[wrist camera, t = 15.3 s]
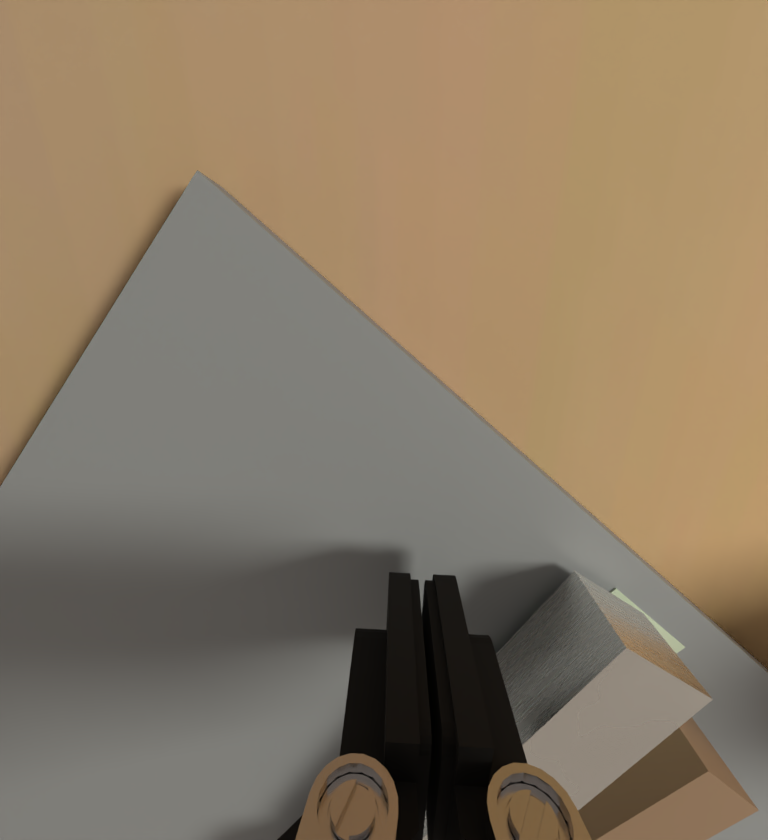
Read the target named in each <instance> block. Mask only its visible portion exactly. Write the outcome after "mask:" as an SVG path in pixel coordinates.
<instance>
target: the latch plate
mask: <svg viewBox="0 0 768 840" xmlns="http://www.w3.org/2000/svg"><path fill="white" fill-rule="evenodd" d="M574 571H576V572H577V573H579V574H581V575H582V576H584V577H585V578H587V579H589V580H590V581H592V582H594V583H595V584H597V585H598V586H600V587H602V588H603V589H605V590H607V591H608V592H610V593H611V594H613V595H615V596H616V597H618V598H620V599H621V600H623V601H624V602H626V603H628V604H629V605H631V606H633V607H634V608H636V609H637V610H639V611H641V612H642V613H644V614H645V616H646V617H647V618H648V619H649V621H650V622H651V623H652V624H653V626H654V627H655V628H656V629H657V631H658V632H659V633H660V634H661V636H662V637H663V638H664V639H665V641H666V642H667V643H668V644H669V645H670V647H671V648H672V649H673V650H674V652H675V653H676V654H677V655H678V657H679V658H680V659H681V660H682V662H683V663H684V664H685V665H686V667H687V668H688V669H689V670H690V671H691V673H692V674H693V675H694V676H695V678H696V679H697V680H698V681H699V683H700V684H701V685H702V686H703V688H704V689H705V690H706V691H707V693H708V694H709V695H710V696H711V698H712V699H713V700H712V701H711V702H709V703H708V704H707V705H706V706H704V707H703V708H702V709H701V710H700V711H698V712H697V713H696V714H695V715H694V716H692V717H691V718H690V719H689V720H688V721H686V722H685V723H684V724H683V725H681V726H680V727H679V728H678V729H677V730H675V731H674V732H673V733H672V734H671V735H669V736H668V737H667V738H666V739H664V740H663V741H662V742H661V743H660V744H658V745H657V746H656V747H655V748H654V749H652V750H651V751H650V752H649V753H647V754H646V755H645V756H644V757H643V758H641V759H640V760H639V761H638V762H637V763H635V764H634V765H633V766H632V767H631V768H629V769H628V770H627V771H626V772H624V773H623V774H622V775H621V776H620V777H618V778H617V779H616V780H615V781H614V782H612V783H611V784H610V785H609V786H607V787H606V788H605V789H604V790H603V791H601V792H600V793H599V794H598V795H597V796H595V797H594V798H593V799H592V800H591V801H589V802H588V803H587V804H586V805H584V806H583V807H582V808H581V809H580V810H578V812H579V814H580V816H581V818H582V820H583V822H584V824H585V826H586V829H587V831H588V833H589V835H590V837H591V839H592V840H768V669H767V668H765V667H764V666H763V665H762V664H761V663H760V662H759V661H758V660H756V659H755V658H754V657H753V656H752V655H751V654H750V653H748V652H747V651H746V650H745V649H744V648H743V647H742V646H741V645H739V644H738V643H737V642H736V641H735V640H734V639H733V638H731V637H730V636H729V635H728V634H727V633H726V632H725V631H724V630H722V629H721V628H720V627H719V626H718V625H717V624H716V623H715V622H713V621H712V620H711V619H710V618H709V617H708V616H707V615H705V614H704V613H703V612H702V611H701V610H700V609H699V608H698V607H696V606H695V605H694V604H693V603H692V602H691V601H690V600H688V599H687V598H686V597H685V596H684V595H683V594H682V593H681V592H679V591H678V590H677V589H676V588H675V587H674V586H673V585H672V584H670V583H669V582H668V581H667V580H666V579H665V578H664V577H662V576H661V575H660V574H659V573H658V572H657V571H656V570H655V569H653V568H652V567H651V566H650V565H649V564H648V563H647V562H645V561H644V560H643V559H642V558H641V557H640V556H639V555H638V554H636V553H635V552H634V551H633V550H632V549H631V548H630V547H629V546H627V545H626V544H625V543H624V542H623V541H622V540H621V539H619V538H618V537H617V536H616V535H615V534H614V533H613V532H612V531H610V530H609V529H608V528H607V527H606V526H605V525H604V524H602V523H601V522H600V521H599V520H598V519H597V518H596V517H595V516H593V515H592V514H591V513H590V512H589V511H588V510H587V509H586V508H584V507H583V506H582V505H581V504H580V503H579V502H578V501H576V500H575V499H574V498H573V497H572V496H571V495H570V494H569V493H567V492H566V491H565V490H564V489H563V488H562V487H561V486H559V485H558V484H557V483H556V482H555V481H554V480H553V479H552V478H550V477H549V476H548V475H547V474H546V473H545V472H544V471H543V470H541V469H540V468H539V467H538V466H537V465H536V464H535V463H533V462H532V461H531V460H530V459H529V458H528V457H527V456H526V455H524V454H523V453H522V452H521V451H520V450H519V449H518V448H516V447H515V446H514V445H513V444H512V443H511V442H510V441H509V440H507V439H506V438H505V437H504V436H503V435H502V434H501V433H499V432H498V431H497V430H496V429H495V428H494V427H493V426H492V425H490V424H489V423H488V422H487V421H486V420H485V419H484V418H483V417H481V416H480V415H479V414H478V413H477V412H476V411H475V410H473V409H472V408H471V407H470V406H469V405H468V404H467V403H466V402H464V401H463V400H462V399H461V398H460V397H459V396H458V395H456V394H455V393H454V392H453V391H452V390H451V389H450V388H449V387H447V386H446V385H445V384H444V383H443V382H442V381H441V380H440V379H438V378H437V377H436V376H435V375H434V374H433V373H432V372H430V371H429V370H428V369H427V368H426V367H425V366H424V365H423V364H421V363H420V362H419V361H418V360H417V359H416V358H415V357H413V356H412V355H411V354H410V353H409V352H408V351H407V350H406V349H404V348H403V347H402V346H401V345H400V344H399V343H398V342H397V341H395V340H394V339H393V338H392V337H391V336H390V335H389V334H387V333H386V332H385V331H384V330H383V329H382V328H381V327H380V326H378V325H377V324H376V323H375V322H374V321H373V320H372V319H370V318H369V317H368V316H367V315H366V314H365V313H364V312H363V311H361V310H360V309H359V308H358V307H357V306H356V305H355V304H354V303H352V302H351V301H350V300H349V299H348V298H347V297H346V296H344V295H343V294H342V293H341V292H340V291H339V290H338V289H337V288H335V287H334V286H333V285H332V284H331V283H330V282H329V281H327V280H326V279H325V278H324V277H323V276H322V275H321V274H320V273H318V272H317V271H316V270H315V269H314V268H313V267H312V266H311V265H309V264H308V263H307V262H306V261H305V260H304V259H303V258H301V257H300V256H299V255H298V254H297V253H296V252H295V251H294V250H292V249H291V248H290V247H289V246H288V245H287V244H286V243H284V242H283V241H282V240H281V239H280V238H279V237H278V236H277V235H275V234H274V233H273V232H272V231H271V230H270V229H269V228H268V227H266V226H265V225H264V224H263V223H262V222H261V221H260V220H258V219H257V218H256V217H255V216H254V215H253V214H252V213H251V212H249V211H248V210H247V209H246V208H245V207H244V206H243V205H241V204H240V203H239V202H238V201H237V200H236V199H235V198H234V197H232V196H231V195H230V194H229V193H228V192H227V191H226V190H225V189H223V188H222V187H221V186H219V185H218V184H217V183H215V182H214V181H212V180H211V179H209V178H208V177H206V176H205V175H203V174H202V173H201V172H199V171H198V170H197V171H196V173H195V175H194V176H193V178H192V179H191V181H190V183H189V184H188V186H187V187H186V189H185V191H184V192H183V194H182V196H181V197H180V199H179V200H178V202H177V204H176V205H175V207H174V208H173V210H172V212H171V213H170V215H169V216H168V218H167V220H166V221H165V223H164V224H163V226H162V228H161V229H160V231H159V232H158V234H157V236H156V237H155V239H154V241H153V242H152V244H151V245H150V247H149V249H148V250H147V252H146V253H145V255H144V257H143V258H142V260H141V261H140V263H139V265H138V266H137V268H136V269H135V271H134V273H133V274H132V276H131V277H130V279H129V281H128V282H127V284H126V286H125V287H124V289H123V290H122V292H121V294H120V295H119V297H118V298H117V300H116V302H115V303H114V305H113V306H112V308H111V310H110V311H109V313H108V314H107V316H106V318H105V319H104V321H103V322H102V324H101V326H100V327H99V329H98V331H97V332H96V334H95V335H94V337H93V339H92V340H91V342H90V343H89V345H88V347H87V348H86V350H85V351H84V353H83V355H82V356H81V358H80V359H79V361H78V363H77V364H76V366H75V367H74V369H73V371H72V372H71V374H70V376H69V377H68V379H67V380H66V382H65V384H64V385H63V387H62V388H61V390H60V392H59V393H58V395H57V396H56V398H55V400H54V401H53V403H52V404H51V406H50V408H49V409H48V411H47V413H46V414H45V416H44V417H43V419H42V421H41V422H40V424H39V425H38V427H37V429H36V430H35V432H34V433H33V435H32V437H31V438H30V440H29V441H28V443H27V445H26V446H25V448H24V449H23V451H22V453H21V454H20V456H19V458H18V459H17V461H16V462H15V464H14V466H13V467H12V469H11V470H10V472H9V474H8V475H7V477H6V478H5V480H4V482H3V483H2V485H1V486H0V840H277V839H278V838H279V837H280V836H281V835H282V834H283V833H285V832H286V831H287V830H288V829H289V828H290V827H291V826H292V825H293V824H294V823H295V822H296V821H297V820H298V819H299V818H300V817H301V816H302V815H303V812H304V809H305V806H306V802H307V799H308V796H309V792H310V790H311V788H312V786H313V783H314V781H315V779H316V777H317V776H318V774H319V773H320V772H321V771H322V770H323V768H324V767H325V766H326V765H327V764H328V763H330V762H331V761H333V760H334V759H336V758H337V757H339V756H340V748H341V740H342V732H343V723H344V715H345V707H346V699H347V691H348V683H349V675H350V667H351V659H352V651H353V643H354V635H355V629H356V628H362V629H381V630H386V624H387V604H388V583H389V572H397V573H410V575H411V579H415V580H419V589H420V601H421V612H422V607H423V594H424V583H425V580H432V578H433V575H434V574H437V575H455V576H456V579H457V584H458V588H459V593H460V597H461V602H462V606H463V611H464V615H465V620H466V624H467V629H468V633H469V634H475V635H489V636H490V638H491V640H492V643H493V646H494V649H495V653H497V652H498V651H499V650H500V649H501V648H502V647H503V646H504V645H505V644H506V643H507V642H508V641H509V640H510V638H511V637H512V636H513V635H514V634H515V633H516V632H517V631H518V630H519V629H520V628H521V627H522V626H523V625H524V624H525V623H526V621H527V620H528V619H529V618H530V617H531V616H532V615H533V614H534V613H535V612H536V611H537V610H538V609H539V608H540V607H541V606H542V605H543V603H544V602H545V601H546V600H547V599H548V598H549V597H550V596H551V595H552V594H553V593H554V592H555V591H556V590H557V589H558V588H559V587H560V585H561V584H562V583H563V582H564V581H565V580H566V579H567V578H568V577H569V576H570V575H571V574H572V573H573V572H574Z"/></svg>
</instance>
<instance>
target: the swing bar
mask: <svg viewBox="0 0 768 840" xmlns="http://www.w3.org/2000/svg"><path fill="white" fill-rule="evenodd" d="M496 656H497V660H498V663H499V667H500V670H501V673H502V677H503V680H504V684H505V687H506V691H507V694H508V698H509V701H510V705H511V708H512V712H513V715H514V718H515V722H516V725H517V729H518V732H519V736H520V739H521V743H522V746H523V750H524V753H525V757H526V760H527V763H528V764H530V765H532V766H535V767H537V768H540V769H542V770H543V771H544V772H546V773H547V774H549V775H550V776H552V777H553V778H554V779H555V780H556V781H557V782H558V783H559V784H560V785H561V786H562V787H563V788H564V789H565V791H566V792H567V793H568V795H569V796H570V798H571V800H572V801H573V803H574V805H575V806H576V808H577V810H580V809H581V808H582V807H583V806H584V805H586V804H587V803H588V802H589V801H591V800H592V799H593V798H594V797H595V796H597V795H598V794H599V793H600V792H601V791H603V790H604V789H605V788H606V787H607V786H609V785H610V784H611V783H612V782H614V781H615V780H616V779H617V778H618V777H620V776H621V775H622V774H623V773H624V772H626V771H627V770H628V769H629V768H631V767H632V766H633V765H634V764H635V763H637V762H638V761H639V760H640V759H641V758H643V757H644V756H645V755H646V754H647V753H649V752H650V751H651V750H652V749H654V748H655V747H656V746H657V745H658V744H660V743H661V742H662V741H663V740H664V739H666V738H667V737H668V736H669V735H671V734H672V733H673V732H674V731H675V730H677V729H678V728H679V727H680V726H681V725H683V724H684V723H685V722H686V721H688V720H689V719H690V718H691V717H692V716H694V715H695V714H696V713H697V712H698V711H700V710H701V709H702V708H703V707H704V706H706V705H707V704H708V703H709V702H711V701H712V700H713V699H712V698H711V696H710V695H709V694H708V693H707V691H706V690H705V689H704V688H703V686H702V685H701V684H700V683H699V681H698V680H697V679H696V678H695V676H694V675H693V674H692V673H691V671H690V670H689V669H688V668H687V667H686V665H685V664H684V663H683V662H682V660H681V659H680V658H679V657H678V655H677V654H676V653H675V652H674V650H673V649H672V648H671V647H670V645H669V644H668V643H667V642H666V641H665V639H664V638H663V637H662V636H661V634H660V633H659V632H658V631H657V629H656V628H655V627H654V626H653V624H652V623H651V622H650V621H649V619H648V618H647V617H646V616H645V614H644V613H642V612H641V611H639V610H637V609H636V608H634V607H633V606H631V605H629V604H628V603H626V602H624V601H623V600H621V599H620V598H618V597H616V596H615V595H613V594H611V593H610V592H608V591H607V590H605V589H603V588H602V587H600V586H598V585H597V584H595V583H594V582H592V581H590V580H589V579H587V578H585V577H584V576H582V575H581V574H579V573H577V572H576V571H574V572H573V573H572V574H571V575H570V576H569V577H568V578H567V579H566V580H565V581H564V582H563V583H562V584H561V585H560V587H559V588H558V589H557V590H556V591H555V592H554V593H553V594H552V595H551V596H550V597H549V598H548V599H547V600H546V601H545V602H544V603H543V605H542V606H541V607H540V608H539V609H538V610H537V611H536V612H535V613H534V614H533V615H532V616H531V617H530V618H529V619H528V620H527V621H526V623H525V624H524V625H523V626H522V627H521V628H520V629H519V630H518V631H517V632H516V633H515V634H514V635H513V636H512V637H511V638H510V640H509V641H508V642H507V643H506V644H505V645H504V646H503V647H502V648H501V649H500V650H499V651H498V652H497V653H496ZM423 840H428V837H427V820H426V812H425V822H424V832H423Z"/></svg>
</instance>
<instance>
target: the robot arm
mask: <svg viewBox="0 0 768 840" xmlns="http://www.w3.org/2000/svg"><path fill="white" fill-rule="evenodd" d="M425 812H426V820H427V837H428V840H592V839H591V837H590V835H589V833H588V831H587V829H586V826H585V824H584V822H583V820H582V818H581V816H580V814H579V812H578V810H577V808H576V806H575V805H574V803H573V801H572V800H571V798H570V796H569V795H568V793H567V792H566V791H565V789H564V788H563V787H562V786H561V785H560V784H559V783H558V782H557V781H556V780H555V779H554V778H553V777H552V776H550V775H549V774H547V773H546V772H544V771H543V770H542V769H540V768H537V767H535V766H532V765H530V764H528V763H527V760H526V757H525V753H524V750H523V746H522V743H521V739H520V736H519V732H518V729H517V725H516V722H515V718H514V715H513V712H512V708H511V705H510V701H509V698H508V694H507V691H506V687H505V684H504V680H503V677H502V673H501V670H500V667H499V663H498V660H497V656H496V653H495V649H494V646H493V643H492V640H491V638H490V636H489V635H475V634H469V633H468V629H467V624H466V620H465V615H464V611H463V606H462V602H461V597H460V593H459V588H458V584H457V579H456V576H455V575H437V574H434V575H433V578H432V580H425V583H424V594H423V607H422V612H421V601H420V589H419V580H415V579H411V575H410V573H397V572H389V583H388V604H387V624H386V630H381V629H362V628H356V629H355V635H354V643H353V651H352V659H351V667H350V675H349V683H348V691H347V699H346V707H345V715H344V723H343V732H342V740H341V748H340V756H339V757H337V758H336V759H334V760H333V761H331V762H330V763H328V764H327V765H326V766H325V767H324V768H323V770H322V771H321V772H320V773H319V774H318V776H317V777H316V779H315V781H314V783H313V786H312V788H311V790H310V792H309V796H308V799H307V802H306V806H305V809H304V812H303V815H302V816H301V817H300V818H299V819H298V820H297V821H296V822H295V823H294V824H293V825H292V826H291V827H290V828H289V829H288V830H287V831H286V832H285V833H283V834H282V835H281V836H280V837H279V838H278V839H277V840H423V832H424V822H425Z"/></svg>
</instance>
